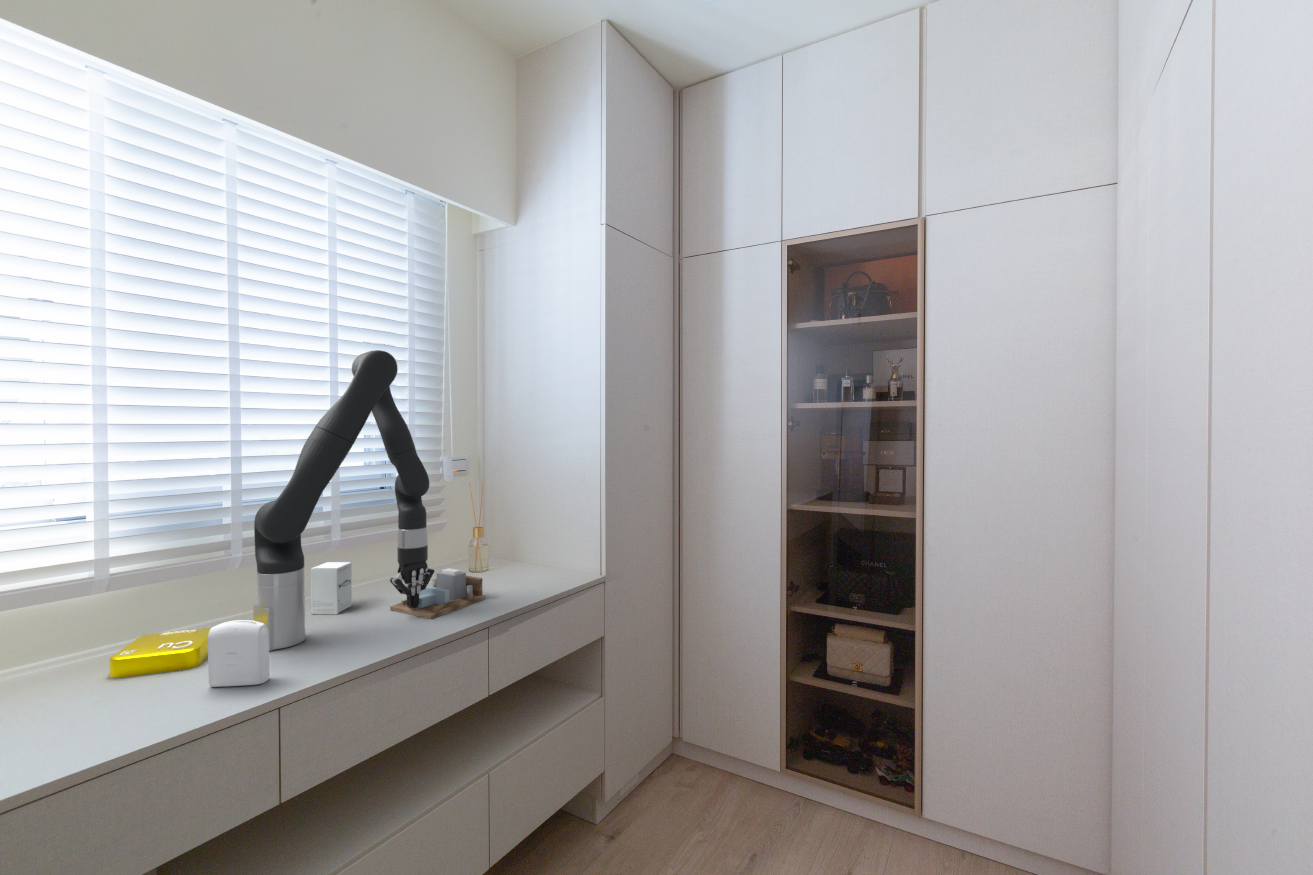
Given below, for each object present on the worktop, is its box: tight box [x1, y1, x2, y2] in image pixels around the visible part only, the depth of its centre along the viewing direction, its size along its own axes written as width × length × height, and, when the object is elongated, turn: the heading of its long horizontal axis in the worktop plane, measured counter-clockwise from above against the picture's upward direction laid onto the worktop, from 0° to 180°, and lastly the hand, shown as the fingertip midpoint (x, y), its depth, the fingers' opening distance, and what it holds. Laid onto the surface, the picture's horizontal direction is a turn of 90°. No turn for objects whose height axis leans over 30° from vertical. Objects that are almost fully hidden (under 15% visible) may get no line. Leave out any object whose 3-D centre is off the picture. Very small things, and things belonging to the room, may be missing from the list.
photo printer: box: [207, 619, 270, 688], centre depth 112 cm, size 10×4×12 cm, turn 96°
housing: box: [389, 575, 486, 620], centre depth 161 cm, size 20×16×6 cm
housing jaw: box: [418, 585, 449, 608], centre depth 157 cm, size 6×11×4 cm, turn 63°
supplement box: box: [310, 561, 353, 615], centre depth 156 cm, size 7×7×13 cm
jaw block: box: [435, 567, 467, 600], centre depth 165 cm, size 4×7×8 cm, turn 63°
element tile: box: [109, 627, 212, 679], centre depth 123 cm, size 15×15×5 cm
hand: (413, 607), depth 153 cm, fingers closed
